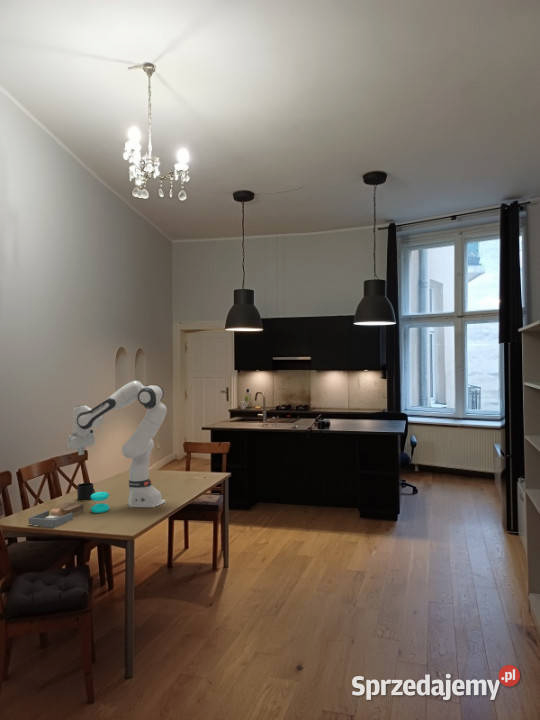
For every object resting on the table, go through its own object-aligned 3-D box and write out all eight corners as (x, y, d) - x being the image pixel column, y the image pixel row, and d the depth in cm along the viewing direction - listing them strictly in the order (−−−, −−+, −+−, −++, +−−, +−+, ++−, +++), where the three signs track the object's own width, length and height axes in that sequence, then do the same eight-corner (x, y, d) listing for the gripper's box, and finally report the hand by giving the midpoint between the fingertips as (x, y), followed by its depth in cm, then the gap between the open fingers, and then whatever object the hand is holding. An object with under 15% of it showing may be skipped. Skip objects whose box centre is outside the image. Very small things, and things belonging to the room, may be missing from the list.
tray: (72, 520, 280) (72, 512, 280) (54, 528, 267) (53, 520, 267) (47, 517, 286) (47, 510, 286) (28, 525, 273) (28, 517, 273)
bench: (83, 513, 293) (83, 504, 293) (68, 519, 282) (68, 510, 282) (67, 511, 297) (67, 502, 297) (52, 517, 285) (52, 508, 285)
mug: (89, 501, 317) (89, 487, 317) (74, 500, 322) (73, 485, 322) (100, 497, 326) (99, 483, 326) (84, 496, 330) (84, 482, 330)
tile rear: (60, 508, 280) (57, 511, 278) (63, 515, 282) (61, 518, 280) (52, 508, 282) (50, 511, 280) (56, 515, 284) (53, 518, 282)
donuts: (97, 490, 303) (112, 491, 300) (97, 508, 303) (112, 509, 300) (86, 495, 293) (102, 496, 290) (87, 513, 293) (102, 514, 290)
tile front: (52, 518, 275) (52, 522, 275) (59, 515, 279) (59, 519, 279) (45, 517, 276) (45, 521, 276) (51, 514, 281) (52, 518, 281)
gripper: (73, 434, 304) (73, 458, 304) (95, 429, 324) (96, 452, 324) (64, 434, 306) (64, 457, 306) (87, 429, 326) (88, 451, 326)
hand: (81, 454), depth 315 cm, fingers closed
